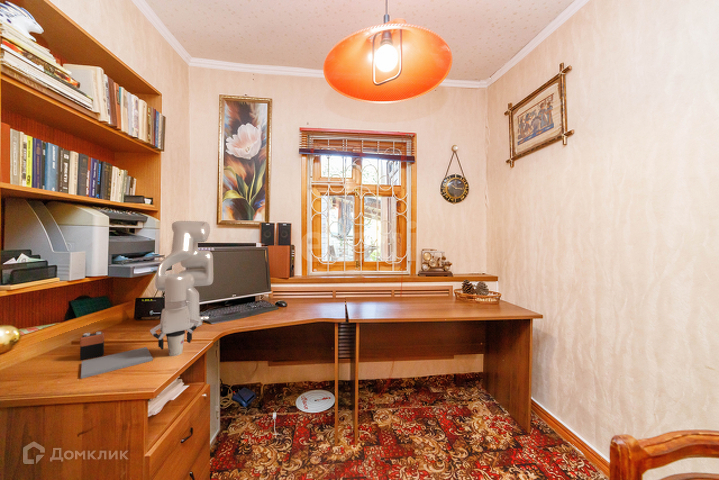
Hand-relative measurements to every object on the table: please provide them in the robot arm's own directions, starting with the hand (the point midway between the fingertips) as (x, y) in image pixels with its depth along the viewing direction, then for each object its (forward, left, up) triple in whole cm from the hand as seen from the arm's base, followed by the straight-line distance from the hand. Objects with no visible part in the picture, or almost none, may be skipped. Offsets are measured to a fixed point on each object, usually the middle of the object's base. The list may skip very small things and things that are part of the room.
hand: (175, 345), depth 114 cm
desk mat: (+18, -7, -4) cm, 20 cm away
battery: (+25, -21, -4) cm, 33 cm away
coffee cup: (0, 0, -4) cm, 4 cm away
